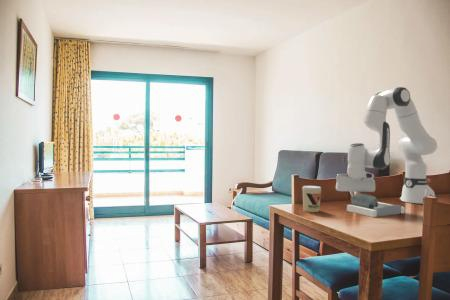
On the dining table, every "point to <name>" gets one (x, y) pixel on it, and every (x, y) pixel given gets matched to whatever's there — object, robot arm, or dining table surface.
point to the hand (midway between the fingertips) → (354, 199)
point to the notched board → (377, 210)
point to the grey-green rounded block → (364, 201)
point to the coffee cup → (311, 198)
